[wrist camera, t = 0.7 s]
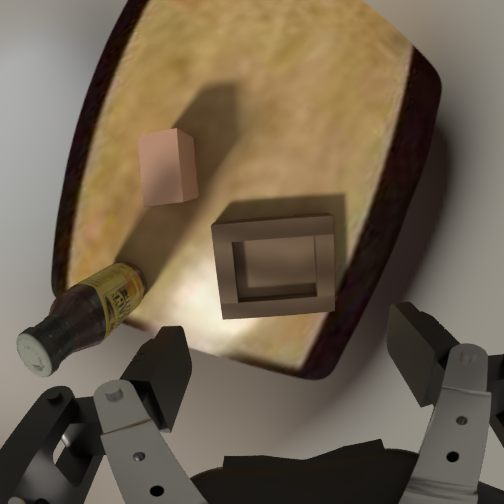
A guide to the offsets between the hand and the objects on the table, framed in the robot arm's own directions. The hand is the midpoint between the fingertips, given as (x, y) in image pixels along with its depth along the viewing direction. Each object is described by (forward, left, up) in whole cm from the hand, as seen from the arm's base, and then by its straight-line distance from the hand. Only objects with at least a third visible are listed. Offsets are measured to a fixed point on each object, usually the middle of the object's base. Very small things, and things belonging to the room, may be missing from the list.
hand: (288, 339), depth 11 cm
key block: (-8, -10, -24) cm, 27 cm away
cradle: (+4, 0, -24) cm, 24 cm away
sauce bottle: (+5, -19, -24) cm, 31 cm away
